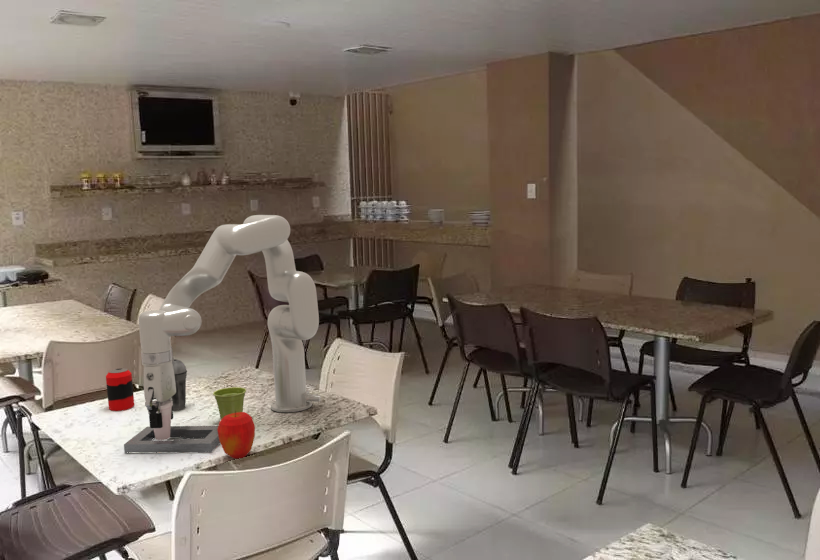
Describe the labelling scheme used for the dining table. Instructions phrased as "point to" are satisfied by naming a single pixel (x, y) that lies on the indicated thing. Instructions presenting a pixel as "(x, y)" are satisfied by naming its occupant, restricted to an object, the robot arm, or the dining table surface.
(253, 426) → the apple
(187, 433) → the keyhole plate
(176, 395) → the beverage cup
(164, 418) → the smoothie
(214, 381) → the dining table surface
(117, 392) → the soda can
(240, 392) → the plant pot
